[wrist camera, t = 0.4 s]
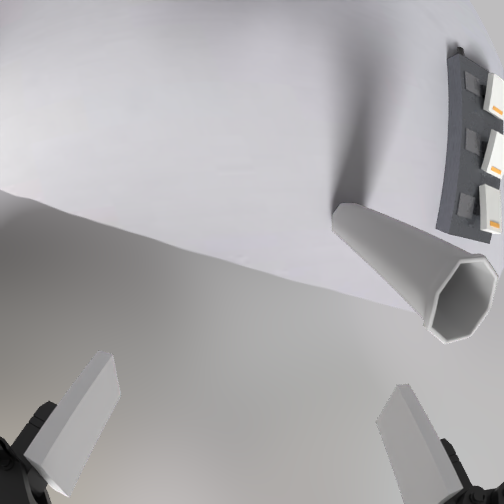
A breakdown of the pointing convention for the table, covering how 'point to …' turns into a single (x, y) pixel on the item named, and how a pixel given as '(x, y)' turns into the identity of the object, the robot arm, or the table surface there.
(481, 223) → the block
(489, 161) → the block
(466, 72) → the power strip
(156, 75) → the table surface
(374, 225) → the tube
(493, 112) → the block
